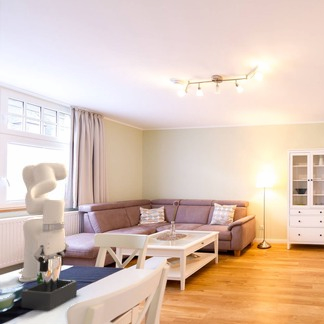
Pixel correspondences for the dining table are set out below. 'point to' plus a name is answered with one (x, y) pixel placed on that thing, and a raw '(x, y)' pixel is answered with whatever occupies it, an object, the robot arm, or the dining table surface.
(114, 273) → the dining table surface
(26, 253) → the robot arm
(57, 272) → the beer glass
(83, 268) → the dining table surface
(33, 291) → the bin
